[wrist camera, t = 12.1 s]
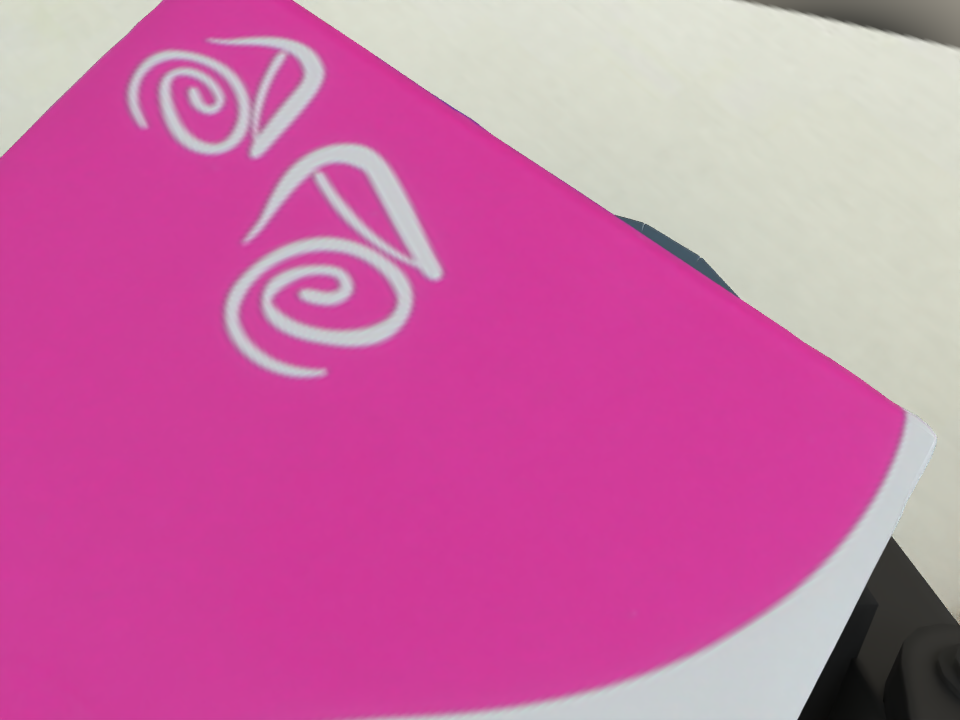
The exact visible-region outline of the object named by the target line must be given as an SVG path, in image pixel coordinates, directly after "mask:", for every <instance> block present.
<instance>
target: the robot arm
mask: <svg viewBox="0 0 960 720" xmlns="http://www.w3.org/2000/svg"><path fill="white" fill-rule="evenodd" d="M797 720H960V625H959V624H958V623H957V621H956V620H955V619H954V617H953V616H952V615H951V614H950V612H949V611H948V610H947V608H946V607H945V606H944V604H943V603H942V602H941V600H940V599H939V598H938V596H937V595H936V594H935V593H934V591H933V590H932V589H931V587H930V586H929V585H928V583H927V582H926V581H925V579H924V578H923V577H922V575H921V574H920V573H919V572H918V570H917V569H916V568H915V566H914V565H913V564H912V562H911V561H910V560H909V558H908V557H907V556H906V554H905V553H904V552H903V551H902V549H901V548H900V547H899V545H898V544H897V543H896V541H895V540H894V539H893V537H892V536H891V537H890V539H889V541H888V543H887V545H886V547H885V549H884V551H883V553H882V555H881V556H880V558H879V560H878V562H877V564H876V566H875V568H874V570H873V572H872V574H871V576H870V578H869V580H868V582H867V584H866V586H865V588H864V590H863V592H862V594H861V596H860V598H859V600H858V602H857V604H856V606H855V608H854V610H853V612H852V614H851V616H850V618H849V620H848V622H847V623H846V625H845V627H844V629H843V631H842V633H841V635H840V637H839V639H838V641H837V643H836V645H835V647H834V649H833V651H832V653H831V655H830V657H829V659H828V661H827V662H826V664H825V666H824V668H823V670H822V672H821V674H820V676H819V678H818V680H817V682H816V684H815V686H814V688H813V690H812V692H811V694H810V696H809V698H808V699H807V701H806V703H805V705H804V707H803V709H802V711H801V713H800V715H799V717H798V719H797Z"/></svg>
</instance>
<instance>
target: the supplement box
mask: <svg viewBox="0 0 960 720" xmlns="http://www.w3.org/2000/svg"><path fill="white" fill-rule="evenodd" d="M936 443H937V436H936V434H935V433H934V432H933V430H932V429H931V427H930V426H929V425H928V424H927V423H925V422H924V421H923V420H922V419H921V418H919V417H918V416H917V415H915V414H913V413H911V412H909V411H908V410H906V409H904V408H902V407H900V406H899V405H897V404H895V403H893V402H892V401H890V400H889V399H888V398H886V397H885V396H883V395H882V394H881V393H879V392H878V391H877V390H875V389H874V388H872V387H871V386H870V385H868V384H867V383H866V382H864V381H863V380H861V379H860V378H859V377H857V376H856V375H854V374H853V373H851V372H850V371H848V370H847V369H845V368H844V367H842V366H841V365H839V364H838V363H836V362H835V361H833V360H832V359H830V358H829V357H827V356H825V355H824V354H822V353H821V352H819V351H817V350H816V349H814V348H812V347H811V346H809V345H808V344H806V343H804V342H803V341H801V340H800V339H799V338H797V337H796V336H794V335H793V334H792V333H790V332H789V331H788V330H786V329H785V328H783V327H782V326H780V325H779V324H777V323H776V322H774V321H773V320H771V319H770V318H768V317H767V316H765V315H764V314H762V313H761V312H759V311H758V310H756V309H755V308H753V307H752V306H750V305H749V304H747V303H746V302H744V301H743V300H741V299H740V298H738V297H736V296H735V295H733V294H732V293H730V292H729V291H727V290H726V289H724V288H723V287H721V286H720V285H718V284H717V283H715V282H714V281H712V280H711V279H709V278H708V277H706V276H705V275H703V274H702V273H700V272H699V271H697V270H696V269H694V268H693V267H691V266H690V265H688V264H687V263H685V262H684V261H682V260H681V259H679V258H678V257H676V256H675V255H673V254H672V253H670V252H669V251H667V250H666V249H664V248H663V247H661V246H660V245H658V244H657V243H655V242H654V241H652V240H651V239H649V238H648V237H646V236H645V235H643V234H642V233H640V232H639V231H637V230H636V229H634V228H633V227H631V226H630V225H628V224H627V223H625V222H624V221H622V220H621V219H619V218H618V217H616V216H615V215H613V214H612V213H610V212H609V211H607V210H606V209H604V208H603V207H601V206H600V205H598V204H597V203H595V202H594V201H592V200H591V199H589V198H588V197H586V196H585V195H583V194H582V193H580V192H579V191H577V190H576V189H574V188H573V187H571V186H570V185H568V184H567V183H565V182H564V181H562V180H560V179H559V178H557V177H556V176H554V175H553V174H551V173H550V172H548V171H547V170H545V169H544V168H542V167H541V166H539V165H538V164H536V163H534V162H533V161H531V160H530V159H528V158H527V157H525V156H524V155H522V154H521V153H519V152H518V151H516V150H515V149H513V148H511V147H510V146H508V145H507V144H505V143H504V142H502V141H501V140H499V139H498V138H496V137H495V136H493V135H492V134H491V133H489V132H488V131H487V130H485V129H484V128H483V127H481V126H480V125H479V124H477V123H476V122H475V121H473V120H472V119H471V118H469V117H467V116H466V115H464V114H463V113H461V112H459V111H458V110H456V109H454V108H453V107H451V106H450V105H448V104H447V103H445V102H444V101H442V100H441V99H439V98H438V97H436V96H435V95H433V94H431V93H430V92H428V91H427V90H425V89H424V88H422V87H421V86H419V85H418V84H416V83H415V82H414V81H412V80H411V79H409V78H408V77H406V76H405V75H403V74H402V73H400V72H399V71H397V70H396V69H394V68H393V67H391V66H390V65H389V64H387V63H386V62H384V61H383V60H381V59H380V58H378V57H377V56H375V55H374V54H372V53H371V52H369V51H368V50H366V49H365V48H363V47H362V46H360V45H359V44H357V43H356V42H354V41H353V40H351V39H350V38H348V37H347V36H345V35H344V34H342V33H341V32H339V31H338V30H336V29H335V28H333V27H332V26H330V25H329V24H327V23H326V22H324V21H323V20H321V19H320V18H318V17H317V16H315V15H314V14H312V13H311V12H309V11H308V10H306V9H305V8H303V7H302V6H300V5H299V4H297V3H296V2H294V1H293V0H163V1H162V2H161V3H160V4H159V5H158V6H157V7H156V8H155V9H154V10H153V11H151V12H150V13H149V14H148V15H147V16H145V17H144V18H143V19H142V20H141V21H140V22H138V23H137V24H136V26H135V27H134V28H133V29H132V30H131V31H130V32H129V33H128V34H127V35H126V36H125V37H124V38H123V39H121V40H120V41H119V42H118V43H117V44H116V45H115V46H113V47H112V48H111V49H110V50H109V51H108V52H107V53H106V54H105V55H103V56H102V57H101V58H100V59H99V60H98V61H97V62H96V63H95V64H94V65H93V66H92V67H91V68H90V69H89V70H88V71H87V72H86V73H85V74H84V75H83V76H82V77H81V78H80V79H79V80H78V81H77V82H76V83H75V84H74V85H73V86H72V87H71V88H70V89H69V90H68V91H67V92H66V93H65V94H63V95H62V96H61V97H60V98H59V99H58V100H57V101H56V102H55V103H54V104H53V105H52V106H51V107H50V108H49V109H48V110H47V111H46V112H45V113H44V114H43V115H42V116H41V117H40V118H39V119H38V120H37V121H36V122H35V123H34V125H33V126H32V127H31V128H30V129H29V130H28V131H27V132H26V133H25V134H24V135H23V136H22V137H21V138H20V139H19V140H18V141H17V142H16V143H15V144H14V145H13V146H12V147H11V148H10V149H9V150H8V151H7V152H6V153H5V154H4V155H3V156H2V157H1V158H0V720H797V719H798V717H799V715H800V713H801V711H802V709H803V707H804V705H805V703H806V701H807V699H808V698H809V696H810V694H811V692H812V690H813V688H814V686H815V684H816V682H817V680H818V678H819V676H820V674H821V672H822V670H823V668H824V666H825V664H826V662H827V661H828V659H829V657H830V655H831V653H832V651H833V649H834V647H835V645H836V643H837V641H838V639H839V637H840V635H841V633H842V631H843V629H844V627H845V625H846V623H847V622H848V620H849V618H850V616H851V614H852V612H853V610H854V608H855V606H856V604H857V602H858V600H859V598H860V596H861V594H862V592H863V590H864V588H865V586H866V584H867V582H868V580H869V578H870V576H871V574H872V572H873V570H874V568H875V566H876V564H877V562H878V560H879V558H880V556H881V555H882V553H883V551H884V549H885V547H886V545H887V543H888V541H889V539H890V537H891V535H892V533H893V532H894V530H895V528H896V526H897V524H898V522H899V520H900V518H901V516H902V513H903V510H904V508H905V505H906V503H907V501H908V499H909V497H910V495H911V494H912V492H913V490H914V488H915V486H916V484H917V483H918V481H919V479H920V477H921V475H922V474H923V472H924V470H925V468H926V467H927V465H928V463H929V461H930V459H931V457H932V454H933V452H934V449H935V447H936Z"/></svg>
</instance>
